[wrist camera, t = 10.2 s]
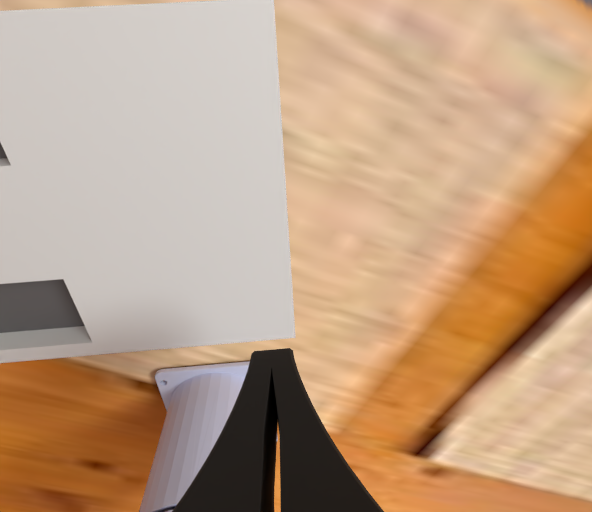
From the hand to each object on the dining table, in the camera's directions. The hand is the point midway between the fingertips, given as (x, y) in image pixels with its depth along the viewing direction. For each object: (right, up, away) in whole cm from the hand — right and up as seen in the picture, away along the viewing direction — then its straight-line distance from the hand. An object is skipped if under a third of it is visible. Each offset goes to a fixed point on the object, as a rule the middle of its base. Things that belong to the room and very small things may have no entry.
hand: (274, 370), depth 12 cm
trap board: (-13, +6, +6) cm, 16 cm away
